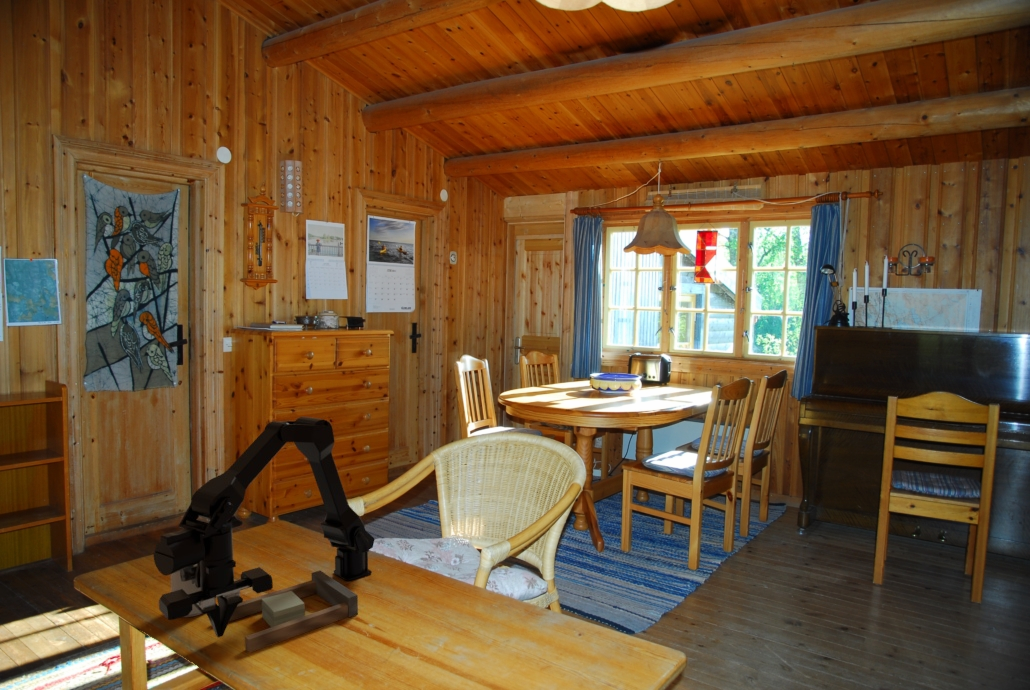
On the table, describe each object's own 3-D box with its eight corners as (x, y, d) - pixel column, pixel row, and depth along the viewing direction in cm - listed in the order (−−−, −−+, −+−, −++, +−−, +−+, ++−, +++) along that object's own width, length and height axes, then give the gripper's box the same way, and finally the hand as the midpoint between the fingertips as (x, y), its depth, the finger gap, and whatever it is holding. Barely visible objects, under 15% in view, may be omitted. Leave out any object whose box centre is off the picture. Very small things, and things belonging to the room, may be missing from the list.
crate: (292, 609, 142) (291, 590, 141) (305, 622, 136) (304, 603, 136) (261, 618, 138) (261, 598, 138) (274, 632, 132) (273, 612, 132)
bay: (320, 588, 151) (320, 570, 151) (357, 614, 139) (357, 595, 139) (217, 621, 136) (216, 601, 136) (249, 653, 124) (248, 632, 124)
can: (197, 620, 136) (194, 562, 135) (163, 617, 138) (161, 558, 137) (220, 603, 143) (218, 547, 142) (188, 600, 145) (186, 544, 144)
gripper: (249, 530, 139) (251, 605, 141) (148, 555, 127) (152, 637, 128) (272, 546, 131) (275, 625, 133) (166, 575, 119) (170, 661, 120)
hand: (219, 636), depth 129 cm, fingers closed
